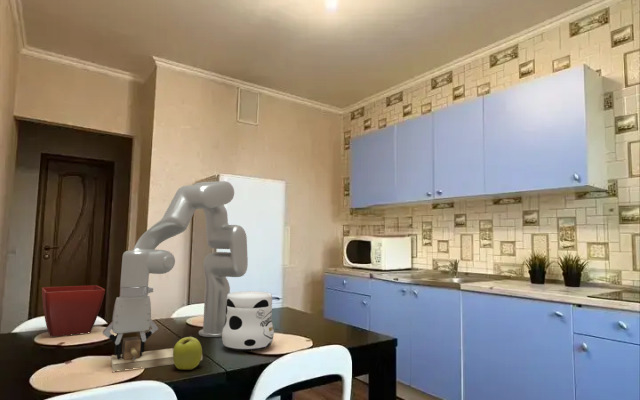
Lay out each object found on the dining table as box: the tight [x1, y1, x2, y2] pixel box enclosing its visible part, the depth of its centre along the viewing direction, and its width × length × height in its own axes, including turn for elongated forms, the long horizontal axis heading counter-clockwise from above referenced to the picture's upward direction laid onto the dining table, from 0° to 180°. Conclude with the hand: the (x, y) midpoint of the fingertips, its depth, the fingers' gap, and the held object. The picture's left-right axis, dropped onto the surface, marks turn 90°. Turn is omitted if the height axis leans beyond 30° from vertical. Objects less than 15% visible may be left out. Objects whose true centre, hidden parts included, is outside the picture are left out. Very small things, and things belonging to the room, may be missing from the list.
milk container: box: [221, 290, 275, 352], centre depth 133 cm, size 17×17×18 cm
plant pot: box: [41, 284, 106, 337], centre depth 150 cm, size 19×19×17 cm
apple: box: [173, 332, 203, 371], centre depth 110 cm, size 8×8×10 cm
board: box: [110, 347, 204, 371], centre depth 115 cm, size 24×10×2 cm, turn 121°
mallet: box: [121, 336, 141, 360], centre depth 111 cm, size 4×10×5 cm, turn 33°
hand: (129, 355), depth 112 cm, fingers open, 4 cm apart
